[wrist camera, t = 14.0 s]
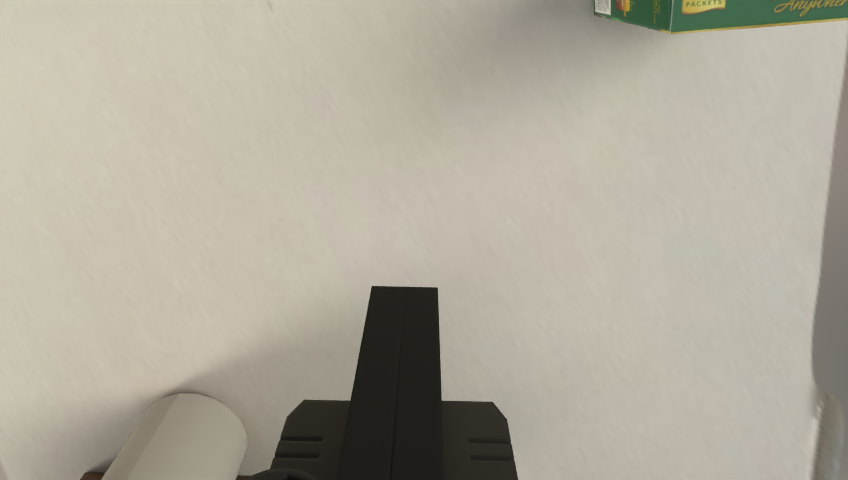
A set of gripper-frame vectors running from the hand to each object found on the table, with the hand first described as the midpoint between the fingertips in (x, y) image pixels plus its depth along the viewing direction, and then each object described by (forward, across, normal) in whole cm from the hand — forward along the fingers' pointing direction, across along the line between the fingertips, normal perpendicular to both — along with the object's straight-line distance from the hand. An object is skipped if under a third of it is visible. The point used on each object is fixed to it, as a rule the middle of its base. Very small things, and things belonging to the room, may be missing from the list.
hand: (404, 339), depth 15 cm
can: (+25, -15, -22) cm, 36 cm away
